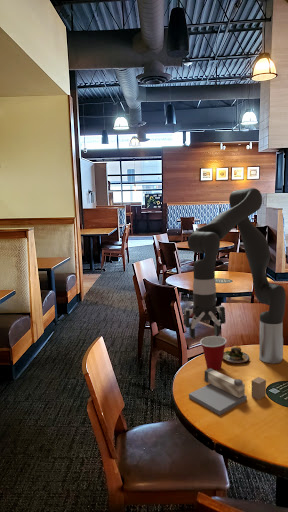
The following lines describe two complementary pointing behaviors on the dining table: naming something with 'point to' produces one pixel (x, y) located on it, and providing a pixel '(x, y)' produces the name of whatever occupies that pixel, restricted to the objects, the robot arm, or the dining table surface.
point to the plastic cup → (213, 351)
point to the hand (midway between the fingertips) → (204, 336)
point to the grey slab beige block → (225, 396)
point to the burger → (236, 355)
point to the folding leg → (225, 382)
